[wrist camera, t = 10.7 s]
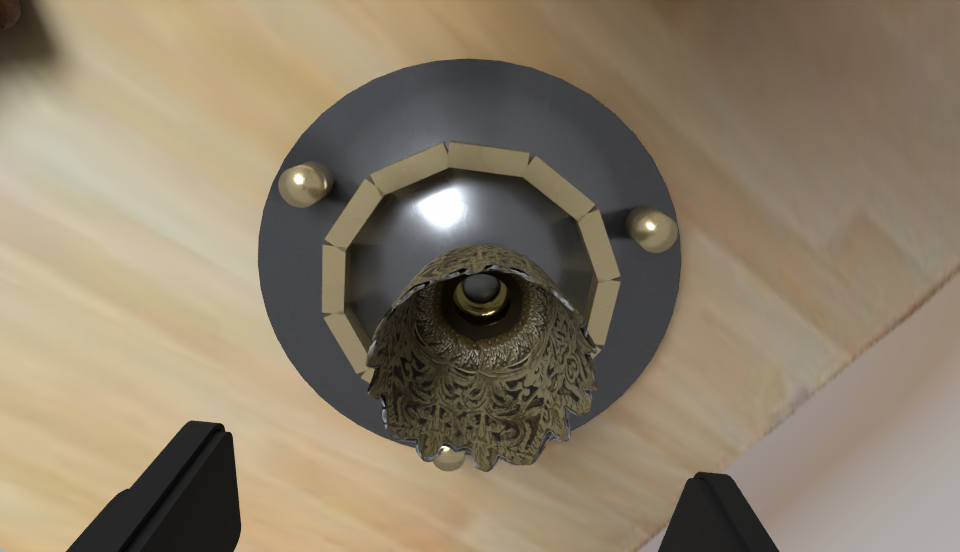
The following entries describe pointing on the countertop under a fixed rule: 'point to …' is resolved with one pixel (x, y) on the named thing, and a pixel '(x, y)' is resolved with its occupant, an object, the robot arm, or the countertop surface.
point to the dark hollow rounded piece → (482, 360)
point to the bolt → (9, 13)
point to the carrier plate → (464, 219)
